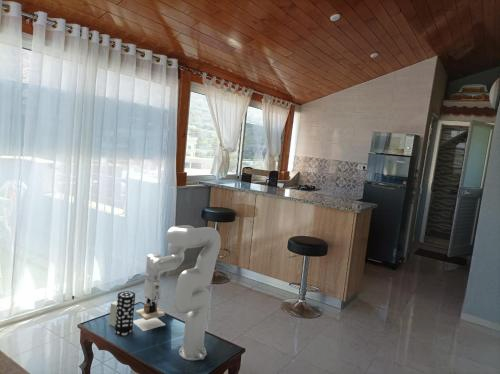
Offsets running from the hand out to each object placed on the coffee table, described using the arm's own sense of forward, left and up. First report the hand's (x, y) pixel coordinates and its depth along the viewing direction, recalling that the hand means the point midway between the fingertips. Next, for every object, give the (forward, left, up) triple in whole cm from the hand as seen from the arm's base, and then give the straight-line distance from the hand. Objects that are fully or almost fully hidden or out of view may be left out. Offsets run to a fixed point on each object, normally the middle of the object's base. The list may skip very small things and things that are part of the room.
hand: (150, 310), depth 190 cm
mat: (+1, 0, -8) cm, 8 cm away
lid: (0, 0, -2) cm, 2 cm away
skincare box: (+9, +14, -8) cm, 18 cm away
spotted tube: (-1, +15, -8) cm, 17 cm away
